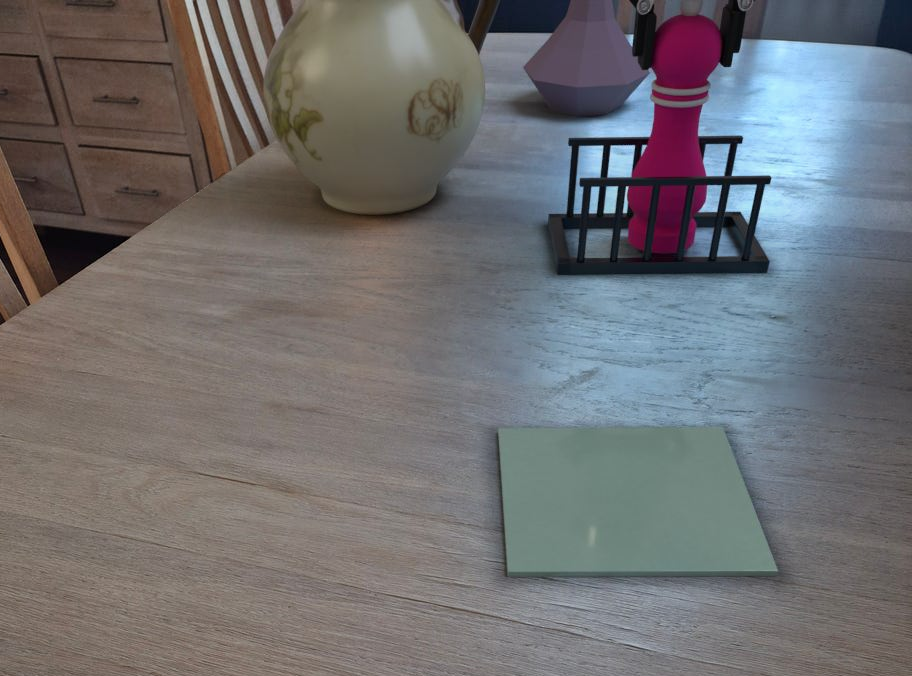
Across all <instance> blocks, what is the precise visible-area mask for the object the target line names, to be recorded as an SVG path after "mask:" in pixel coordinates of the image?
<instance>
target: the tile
mask: <svg viewBox="0 0 912 676" xmlns="http://www.w3.org/2000/svg"><path fill="white" fill-rule="evenodd" d="M497 436H498V437H497V438H498V439H497V440H498V454H499V469H500V484H501V498H502V515H503V528H504V529H503V531H504V543H505V544H504V545H505V546H504V547H505V559H506V561H505V562H506V576H507V578H555V577H556V578H565V577H566V578H569V577H570V578H581V577H582V578H590V577H593V578H594V577H595V578H596V577H597V578H598V577H601V578H602V577H603V578H604V577H605V578H606V577H611V578H613V577H614V578H615V577H618V578H619V577H623V578H624V577H625V578H627V577H630V578H631V577H777V576H778V573H779V569H778V566H777V564H776V561H775V559H774V557H773V554H772V551H771V549H770V546H769V543H768V541H767V538H766V535H765V533H764V530H763V528H762V525H761V523H760V520H759V518H758V515H757V512H756V510H755V507H754V504H753V501H752V499H751V496H750V494H749V491H748V488H747V486H746V483H745V481H744V477H743V475H742V473H741V470H740V468H739V465H738V463H737V460H736V457H735V455H734V452H733V450H732V447H731V444H730V442H729V440H728V439H729V438H728V436H727V434H726V432H725V428H724V426H660V427H659V426H649V427H648V426H646V427H644V426H643V427H642V426H639V427H638V426H637V427H636V426H635V427H633V426H632V427H623V426H622V427H501V428H500V427H498V428H497Z"/></svg>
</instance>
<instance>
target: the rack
mask: <svg viewBox="0 0 912 676" xmlns="http://www.w3.org/2000/svg"><path fill="white" fill-rule="evenodd" d="M649 138H650V136H611V137H610V136H609V137H608V136H607V137H606V136H604V137H598V136H597V137H596V136H595V137H568V140H567V145H568V147H571V151H570V152H571V154H570V162H569V163H570V164H569V177H568V189H567V201H566V202H567V204H566V213H548V214H547V215H548V217H547V228H548V229H547V230H548V234H549V240H550V244H551V245H550V246H551V249H552V256H553V261H554V266H555V271H556V276H605V275H606V276H607V275H608V276H610V275H611V276H613V275H617V276H619V275H696V274H697V275H701V274H702V275H704V274H705V275H706V274H707V275H710V274H711V275H712V274H713V275H714V274H716V275H717V274H767V273H768V270H769V266H770V262H771V261H770V259H769V257H768V255H767V254H766V253H765V250H764V249H763V247H762V246H761V244H760V242H759V240H758V238H757V237H756V236H755V234H756V231H757V225H758V220H759V215H760V211H761V208H762V207H761V206H762V202H763V197H764V193H765V189H766V185H771V182H772V176H771V175H767V174H766V175H733V171H734V166H735V161H736V155H737V150H738V145H742V144H743V141H744V137H743V135H698V139H699V148H700V152H701V156H702V160H703V161H704V159H705V153H706V146H707V145H729V148H728V153H727V158H726V164H725V169H724V174H723V175H706V176H686V177H631V176H632V173H633V171H634V169H635V167H636V165H637V163H638V161H639V160H640V158H641V156H642V154H643V146H647V144H648V141H649ZM612 146H614V147H615V146H618V147H619V146H620V147H621V146H634V150H633V159H632V166H631V167H632V168H631V175H630V176H623V177H621V176H620V177H619V176H618V177H617V176H616V177H614V176H612V177H609V166H610V157H611V148H612ZM580 147H602V155H601V165H600V176H599V177H580V178H579V183H578V184H579V187H580V188H582V196H581V197H582V199H581V208H580V209H581V211H580V213H575V201H576V190H577V179H578V178H577V177H578V168H579V167H578V165H579V155H580V154H579V153H580ZM696 185H707V186H721V188H720V194H719V198H718V205H717V210H716V211H699V212H697V213H696V214H695V215H694V216H693V217H692V218H693V219H694V220H695V222H696V225H697V226H696V229H700V228H704V229H705V228H713V231H712V236H711V242H710V248H709V253H708V256H685V251H686V250H685V246H686V240H687V234H688V228H689V222H690V216H691V210H692V204H693V198H694V192H695V186H696ZM628 186H653V187H652V194H651V201H650V208H649V216H648V223H647V230H646V237H645V245H644V251H642V257H641V256H640V257H639V256H637V257H636V256H635V257H634V256H633V257H632V256H631V257H628V256H627V257H619V250H620V243H621V242H620V241H621V235H622V234H621V233H622V229H629V222H630V220H631V219H632V218H633V217H634V216H635V214H634V212H633V211H632V209H631V208H630V206H629V204H628V203H627V209H626V212H624V207H625V199H626V193H627V189H626V188H627V187H628ZM661 186H687V190H686V197H685V203H684V209H683V215H682V221H681V227H680V234H679V240H678V246H677V252H675V256H652V253H651V251H652V244H653V237H654V230H655V223H656V216H657V209H658V202H659V195H660V188H661ZM731 186H755V191H754V196H753V201H752V206H751V211H750V215H749V220H748V222H747V219H745V217H744V215H743V213H742V212H741V211H726V210H727V205H728V201H729V195H730V189H731ZM609 187H610V188H611V187H612V188H613V187H617V189H616V190H617V192H616V200H615V209H614V212H605V205H606V196H607V188H609ZM592 188H598V195H597V205H596V206H597V207H596V212H595V213H594V212H592V213H590V206H591V195H592ZM723 228H729V230H730V232H731V234H732V236H733V237H734V240H735V242H736V243H737V245H738V246H739V248H740V251H741V252H742V253H741V256H740V255H736V256H735V255H731V256H730V255H729V256H722V255H721V256H718V252H719V248H720V247H719V246H720V242H721V236H722V232H723ZM601 229H602V230H608V229H610V230H611V229H612V235H611V244H610V245H611V246H610V251H609V252H610V254H609V257H586V250H587V249H586V248H587V237H588V230H601ZM565 230H579V231H578V241H577V242H578V243H577V253H576V254H577V255H576V257H571V256H570V252H569V247H568V242H567V238H566V233H565Z"/></svg>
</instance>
